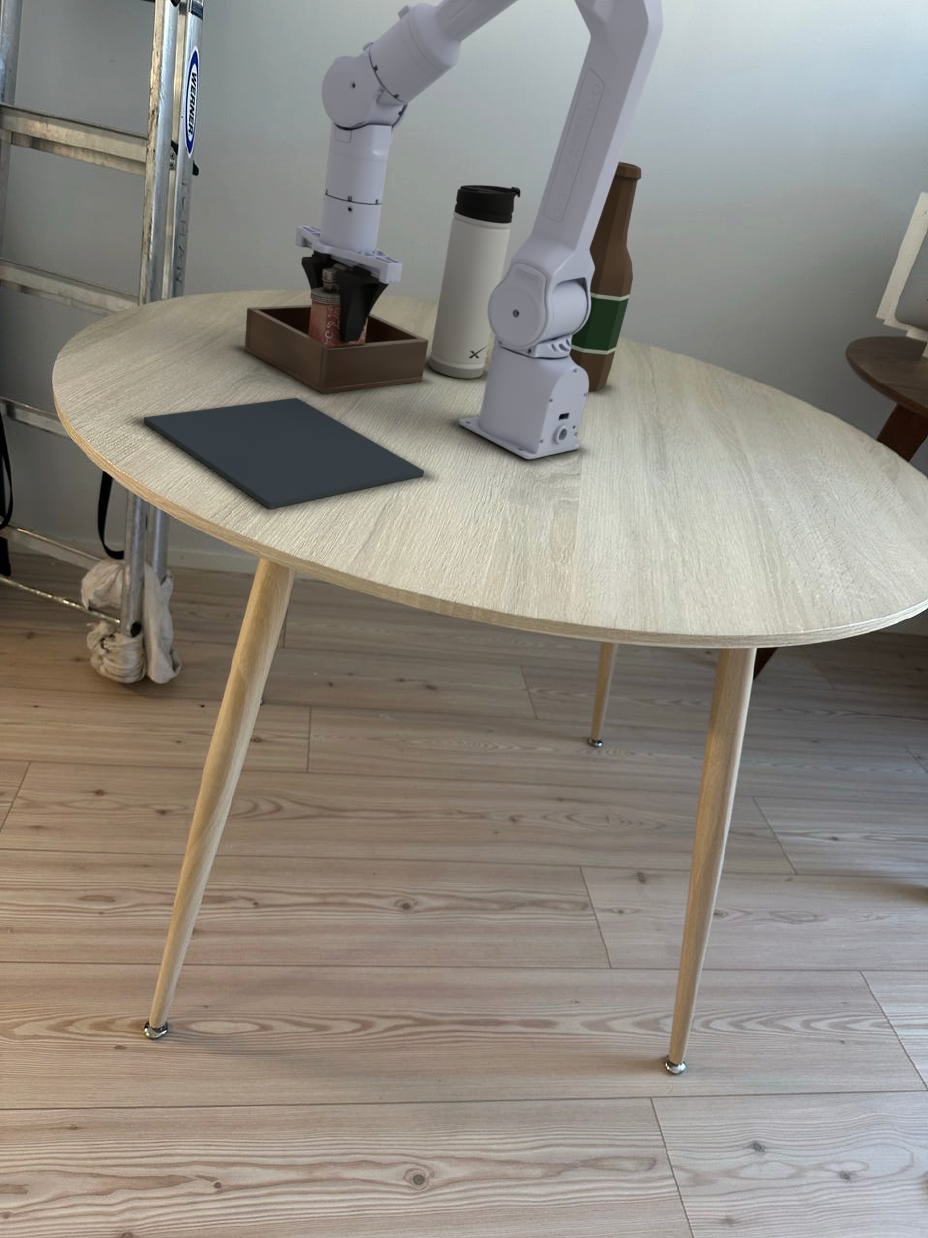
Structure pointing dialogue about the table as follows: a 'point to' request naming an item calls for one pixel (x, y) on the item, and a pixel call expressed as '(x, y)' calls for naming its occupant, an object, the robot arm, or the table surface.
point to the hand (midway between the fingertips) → (337, 334)
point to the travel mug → (471, 278)
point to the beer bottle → (608, 280)
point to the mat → (283, 450)
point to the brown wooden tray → (334, 351)
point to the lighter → (329, 310)
